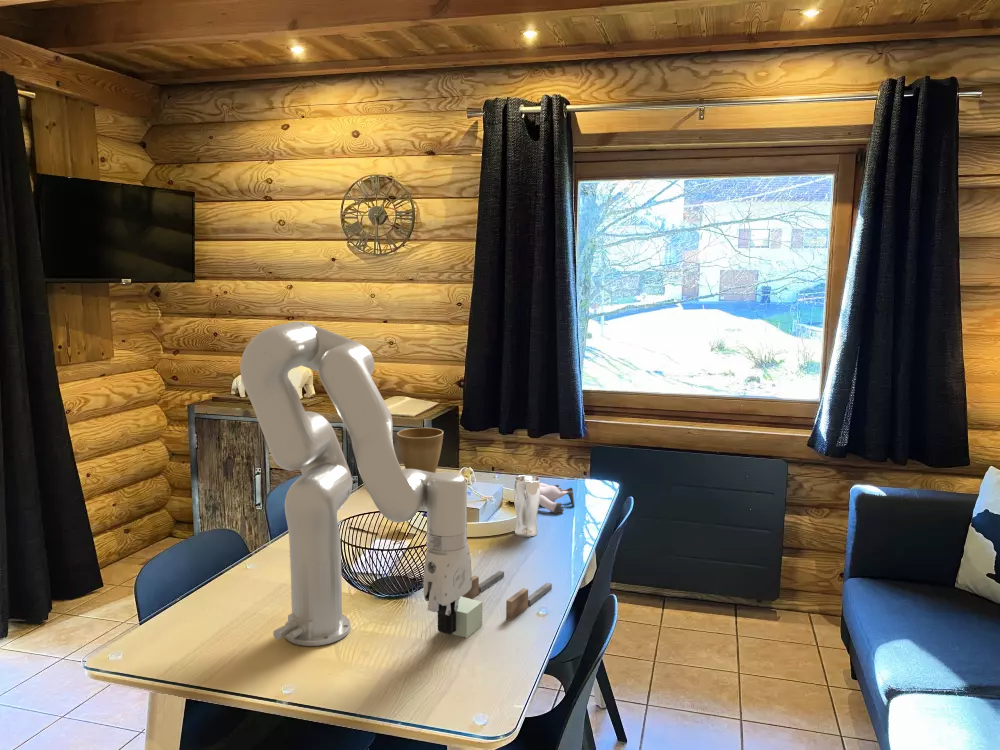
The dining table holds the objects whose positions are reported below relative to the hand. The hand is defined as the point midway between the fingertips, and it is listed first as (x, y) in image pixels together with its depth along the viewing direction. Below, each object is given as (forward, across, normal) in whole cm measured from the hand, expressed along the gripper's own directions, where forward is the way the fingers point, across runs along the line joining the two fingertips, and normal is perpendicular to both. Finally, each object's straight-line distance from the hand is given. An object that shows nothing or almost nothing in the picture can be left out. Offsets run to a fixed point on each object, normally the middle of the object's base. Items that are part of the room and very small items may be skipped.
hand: (446, 631), depth 150 cm
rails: (+2, +26, 0) cm, 26 cm away
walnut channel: (+2, +17, 0) cm, 17 cm away
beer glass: (+2, +59, +16) cm, 61 cm away
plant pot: (+2, +84, +69) cm, 108 cm away
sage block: (+2, +5, 0) cm, 6 cm away
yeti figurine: (+2, +84, +25) cm, 88 cm away
